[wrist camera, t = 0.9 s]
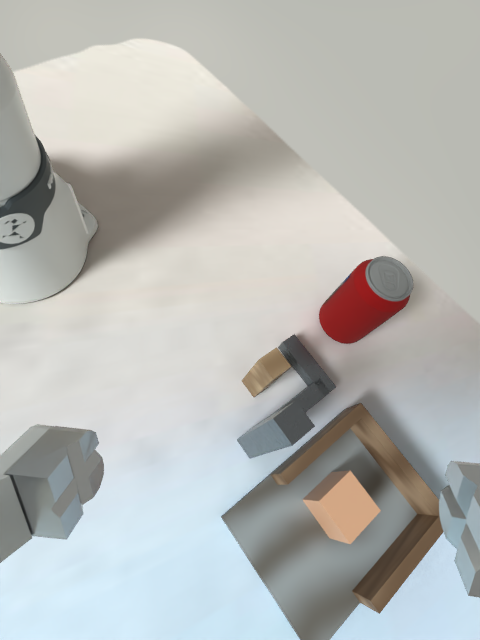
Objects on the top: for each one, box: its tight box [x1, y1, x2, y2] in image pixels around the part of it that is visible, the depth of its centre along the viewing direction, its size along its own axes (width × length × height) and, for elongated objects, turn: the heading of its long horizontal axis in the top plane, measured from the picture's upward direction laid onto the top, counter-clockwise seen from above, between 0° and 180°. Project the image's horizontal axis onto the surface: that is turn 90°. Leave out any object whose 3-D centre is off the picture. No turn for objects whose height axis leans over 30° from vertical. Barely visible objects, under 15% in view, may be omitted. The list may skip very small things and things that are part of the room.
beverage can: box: [319, 256, 413, 344], centre depth 44 cm, size 7×7×12 cm
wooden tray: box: [221, 403, 444, 640], centre depth 37 cm, size 14×19×4 cm
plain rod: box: [242, 348, 291, 397], centre depth 40 cm, size 2×2×8 cm
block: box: [302, 471, 381, 544], centre depth 37 cm, size 4×4×4 cm
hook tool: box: [237, 334, 336, 458], centre depth 37 cm, size 8×13×14 cm, turn 127°
